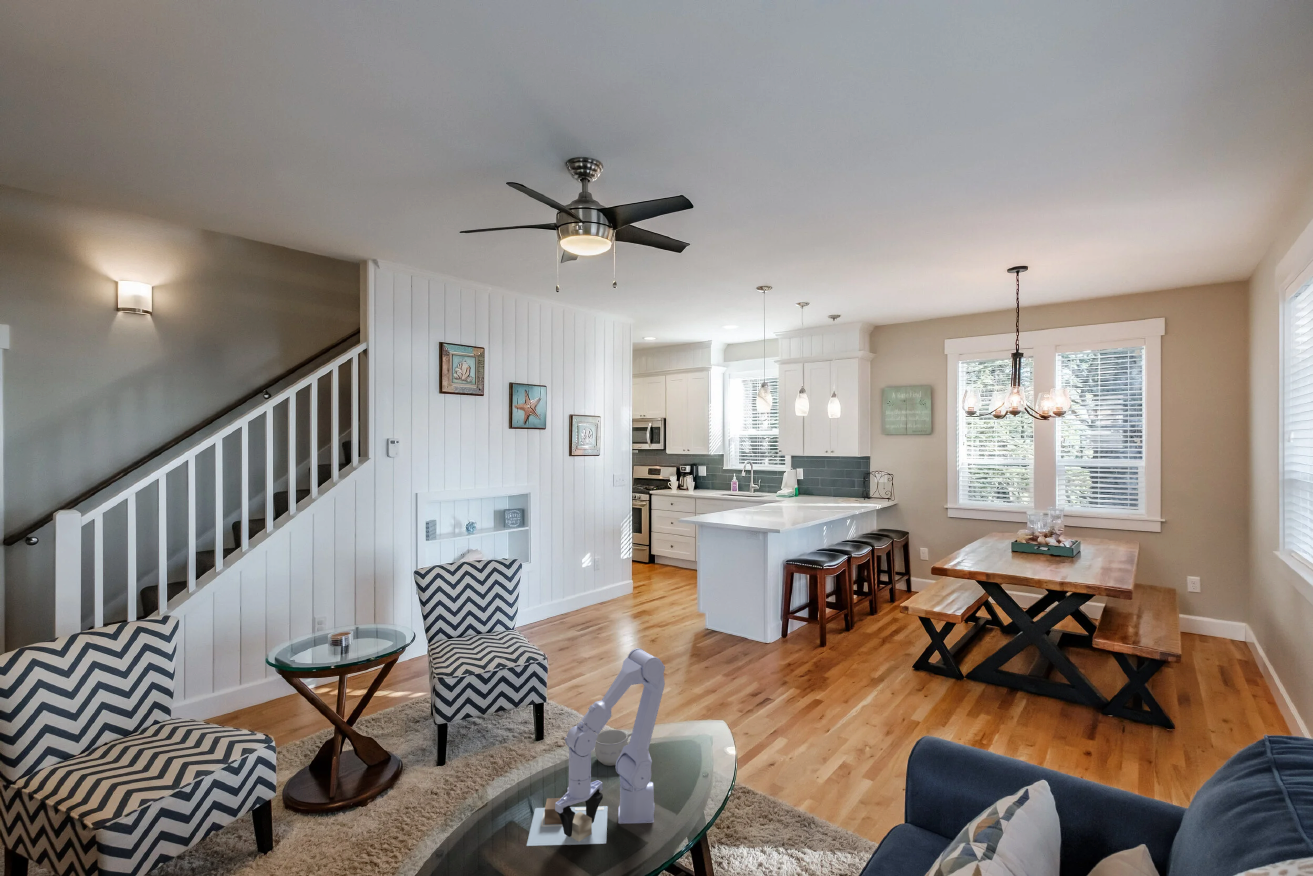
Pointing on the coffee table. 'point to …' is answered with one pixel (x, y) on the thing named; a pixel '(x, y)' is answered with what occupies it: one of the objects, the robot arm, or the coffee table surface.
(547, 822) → the walnut base
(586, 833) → the maple block
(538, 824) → the board
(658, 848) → the coffee table surface
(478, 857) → the coffee table surface
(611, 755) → the teacup
